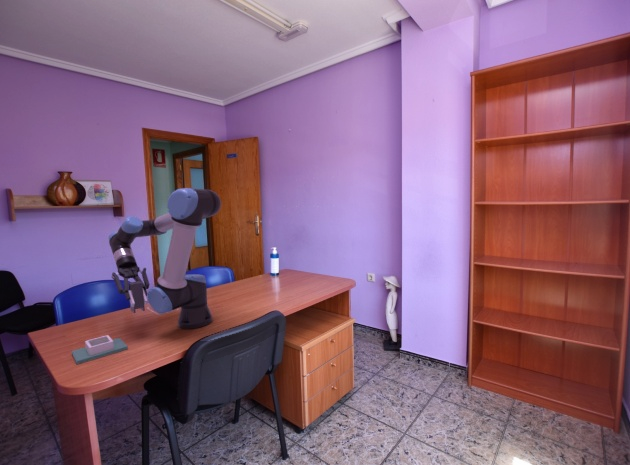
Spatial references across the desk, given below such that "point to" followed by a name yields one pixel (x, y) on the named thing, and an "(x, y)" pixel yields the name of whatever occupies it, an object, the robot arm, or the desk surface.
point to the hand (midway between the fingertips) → (139, 303)
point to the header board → (98, 349)
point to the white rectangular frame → (162, 313)
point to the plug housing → (137, 295)
